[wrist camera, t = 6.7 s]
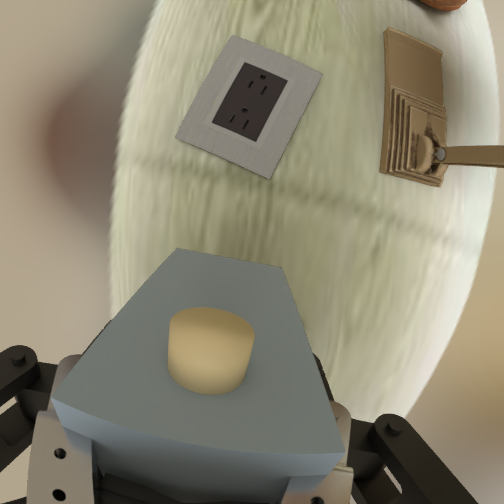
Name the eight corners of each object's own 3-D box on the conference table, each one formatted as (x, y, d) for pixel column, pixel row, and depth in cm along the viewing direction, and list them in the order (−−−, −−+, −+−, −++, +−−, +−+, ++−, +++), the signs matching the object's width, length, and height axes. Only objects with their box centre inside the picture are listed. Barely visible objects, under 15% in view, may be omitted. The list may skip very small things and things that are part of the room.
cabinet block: (286, 247, 13) (371, 415, 3) (259, 353, 14) (272, 531, 5) (179, 227, 13) (37, 351, 3) (168, 336, 14) (102, 500, 4)
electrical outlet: (233, 42, 25) (232, 33, 22) (318, 79, 26) (323, 72, 24) (179, 140, 28) (174, 137, 26) (267, 179, 29) (269, 179, 27)
